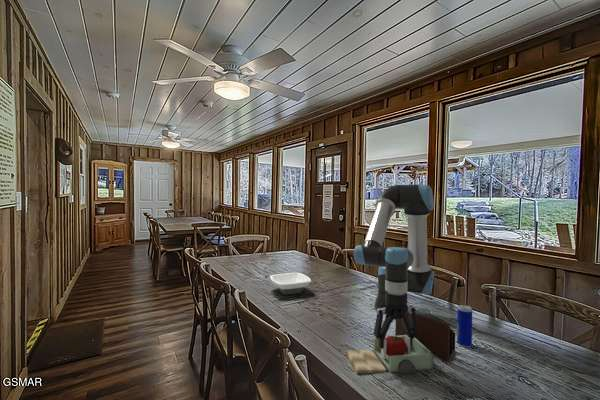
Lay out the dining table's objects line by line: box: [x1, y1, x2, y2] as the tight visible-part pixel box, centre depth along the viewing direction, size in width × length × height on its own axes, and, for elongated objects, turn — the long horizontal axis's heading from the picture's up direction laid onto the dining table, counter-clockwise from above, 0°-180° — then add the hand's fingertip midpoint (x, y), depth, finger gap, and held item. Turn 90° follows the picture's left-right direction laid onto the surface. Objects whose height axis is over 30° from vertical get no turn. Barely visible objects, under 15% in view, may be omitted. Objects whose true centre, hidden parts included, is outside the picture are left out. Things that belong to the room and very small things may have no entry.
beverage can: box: [456, 304, 473, 348], centre depth 118 cm, size 5×5×15 cm
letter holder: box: [394, 312, 456, 363], centre depth 116 cm, size 10×20×14 cm, turn 52°
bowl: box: [269, 272, 312, 296], centre depth 182 cm, size 22×23×8 cm
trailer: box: [373, 335, 434, 376], centre depth 106 cm, size 18×15×6 cm
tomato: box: [386, 335, 407, 356], centre depth 106 cm, size 8×8×7 cm
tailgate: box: [345, 349, 390, 374], centre depth 104 cm, size 13×1×11 cm
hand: (395, 355), depth 106 cm, fingers closed on tomato, 8 cm apart
